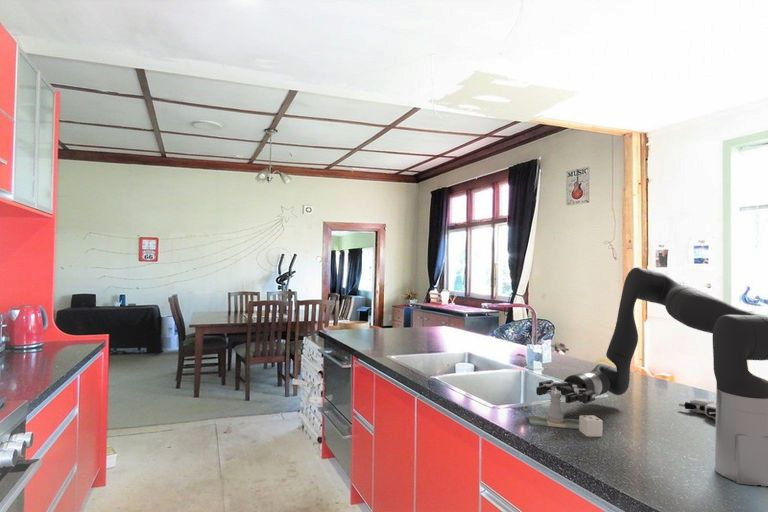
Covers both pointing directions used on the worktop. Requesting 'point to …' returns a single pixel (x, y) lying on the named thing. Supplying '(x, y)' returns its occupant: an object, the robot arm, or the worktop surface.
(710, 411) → the robot toy
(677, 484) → the worktop surface
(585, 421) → the die
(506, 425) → the worktop surface
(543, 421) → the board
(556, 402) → the rook chess piece
